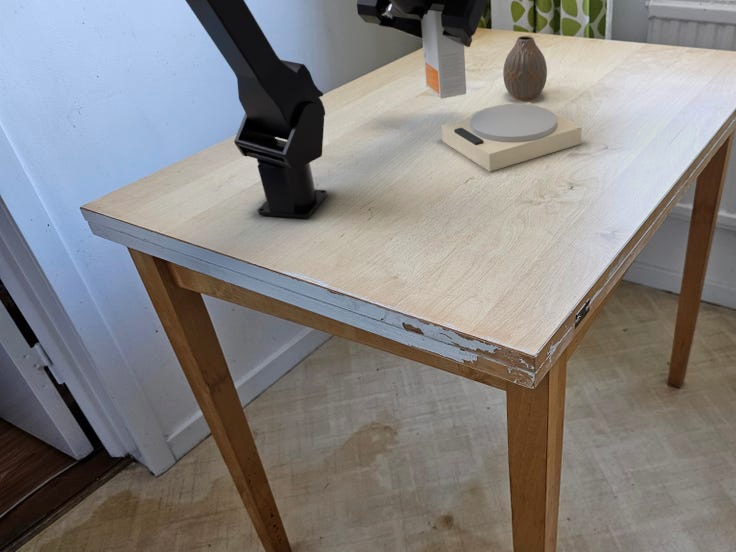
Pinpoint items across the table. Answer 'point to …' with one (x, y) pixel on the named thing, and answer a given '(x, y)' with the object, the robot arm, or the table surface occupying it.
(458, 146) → the scale
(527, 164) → the table surface
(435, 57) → the cosmetic box
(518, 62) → the vase
